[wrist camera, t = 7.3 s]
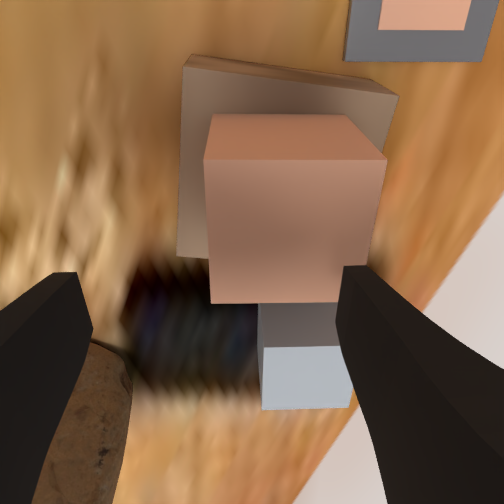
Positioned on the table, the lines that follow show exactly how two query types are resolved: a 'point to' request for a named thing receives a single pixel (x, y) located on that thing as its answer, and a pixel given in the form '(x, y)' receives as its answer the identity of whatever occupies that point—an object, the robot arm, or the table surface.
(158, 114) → the table surface
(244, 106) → the walnut base
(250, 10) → the table surface
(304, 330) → the grey cube
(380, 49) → the card
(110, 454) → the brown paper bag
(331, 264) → the terracotta cube
